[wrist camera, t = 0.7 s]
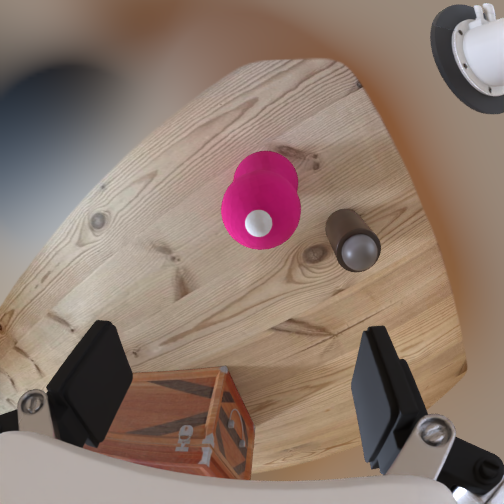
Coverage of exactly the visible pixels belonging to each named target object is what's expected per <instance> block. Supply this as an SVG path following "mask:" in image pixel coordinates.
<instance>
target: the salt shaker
mask: <svg viewBox="0 0 504 504" xmlns="http://www.w3.org/2000/svg"><path fill="white" fill-rule="evenodd" d="M325 230H326V235H327V237H328V239H329V242H330V244H331V246H332V249H333V251H334V253H335V256H336V258H337V260H338V262H339V264H340V265H341V266H342V267H343V268H344V269H346V270H348V271H351V272H362V271H365V270H367V269H369V268H370V267H372V266H373V265H374V264H375V263H376V261H377V260H378V258H379V255H380V251H381V245H380V241H379V239H378V237H377V236H376V234H375V233H374V232H373V231H372V230H371V229H370V227H369V226H368V225H367V224H366V223H365V222H364V220H363V219H362V218H361V217H360V216H359V215H358V214H357V213H356V212H355V211H353V210H350V209H341V210H338V211H336V212H334V213H333V214H332V215H331V216H330V217H329V218H328V220H327V222H326V227H325Z"/></svg>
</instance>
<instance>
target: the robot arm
mask: <svg viewBox="0 0 504 504" xmlns="http://www.w3.org/2000/svg"><path fill="white" fill-rule="evenodd" d="M483 9H484V13H485V15H486V19H487V20H485V19H484V16H483V11H482V7H481V6H478V5H475V6H474V10H475V14H476V17H477V18H476V19H475V20H473V19H468V20H465V21H462V22H460V23H459V24H458V25H457V26H456V27H455V29H454V31H453V34H452V49H453V54H454V57H455V60H456V62H457V65H458V67H459V69H460V71H461V72H462V74H463V75H464V77H465V78H466V80H467V81H468V82H469V83H470V84H471V85H472V86H473V87H474V88H475V89H476V90H478V91H479V92H481V93H483V94H485V95H488V96H500V95H503V94H504V18H501V19H498V20H496V18H495V16H496V15H495V12H494V7H493V5H491V4H488V3H487V4H486V3H485V4H483ZM132 380H133V373H132V370H131V368H130V365H129V363H128V360H127V357H126V355H125V352H124V349H123V347H122V344H121V341H120V338H119V335H118V332H117V329H116V327H115V326H114V325H113V324H112V323H111V322H110V321H103V320H97V321H95V323H94V324H93V325H92V326H91V328H90V329H89V330H88V331H87V333H86V334H85V335H84V337H83V338H82V339H81V340H80V342H79V343H78V344H77V346H76V347H75V348H74V350H73V351H72V352H71V354H70V355H69V356H68V358H67V359H66V360H65V362H64V363H63V364H62V366H61V367H60V368H59V370H58V371H57V373H56V374H55V375H54V377H53V378H52V380H51V381H50V382H49V384H48V385H47V387H46V388H47V390H48V392H47V393H45V392H44V391H42V390H38V389H34V390H30V391H28V392H26V393H25V394H23V395H22V396H21V398H20V399H19V401H18V406H17V409H16V410H14V411H11V412H8V413H5V414H2V415H0V504H504V465H503V462H502V460H501V459H500V458H499V457H498V456H496V455H495V454H493V453H490V452H488V451H486V450H484V449H481V448H479V447H477V446H475V445H472V444H470V443H468V442H466V441H464V440H462V439H459V438H457V437H455V435H456V431H455V426H454V425H453V423H452V422H451V421H450V420H449V419H448V418H446V417H445V416H443V415H439V414H429V415H428V413H427V410H426V408H425V405H424V403H423V400H422V398H421V395H420V393H419V390H418V388H417V385H416V383H415V380H414V378H413V376H412V373H411V371H410V368H409V366H408V364H407V362H406V360H404V359H399V358H398V355H397V353H396V351H395V348H394V346H393V344H392V341H391V339H390V337H389V335H388V332H387V330H386V328H385V326H371V327H368V330H367V331H363V333H362V338H361V343H360V348H359V352H358V357H357V361H356V365H355V370H354V374H353V378H352V382H351V389H352V395H353V399H354V404H355V409H356V414H357V419H358V424H359V430H360V435H361V441H362V446H363V452H364V458H365V461H366V462H370V465H371V469H376V468H380V473H381V474H383V475H382V476H367V477H356V478H345V479H332V480H316V481H315V480H313V481H254V480H237V479H225V478H215V477H207V476H199V475H192V474H185V473H179V472H173V471H168V470H163V469H158V468H153V467H148V466H144V465H139V464H135V463H131V462H127V461H123V460H120V459H116V458H112V457H109V456H106V455H102V454H99V453H96V452H93V451H90V450H87V449H83V446H84V444H86V445H88V446H91V447H94V448H98V445H99V443H101V442H103V441H104V439H105V437H106V435H107V432H108V430H109V428H110V426H111V424H112V422H113V420H114V418H115V416H116V413H117V411H118V409H119V407H120V405H121V403H122V401H123V399H124V397H125V395H126V393H127V391H128V389H129V387H130V385H131V383H132Z"/></svg>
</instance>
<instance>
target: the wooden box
mask: <svg viewBox="0 0 504 504" xmlns="http://www.w3.org/2000/svg"><path fill="white" fill-rule="evenodd" d="M254 437H255V426H254V424H253V422H252V420H251V418H250V415H249V413H248V411H247V409H246V407H245V405H244V403H243V401H242V399H241V397H240V395H239V393H238V390H237V388H236V386H235V384H234V382H233V380H232V377H231V375H230V373H229V371H228V369H227V367H226V366H221V367H211V368H201V369H190V370H177V371H162V372H142V373H133V380H132V383H131V385H130V387H129V389H128V391H127V393H126V395H125V397H124V399H123V401H122V403H121V405H120V407H119V409H118V411H117V413H116V416H115V418H114V420H113V422H112V424H111V426H110V428H109V430H108V432H107V435H106V437H105V439H104V441H103V442H101V443H99V445H98V448H94V447H91V446H88V445H86V444H84V446H83V449H87V450H90V451H93V452H96V453H99V454H102V455H106V456H109V457H112V458H116V459H120V460H123V461H127V462H131V463H135V464H139V465H144V466H148V467H153V468H158V469H163V470H168V471H173V472H179V473H185V474H192V475H199V476H207V477H215V478H225V479H237V480H250V479H251V469H252V458H253V448H254Z"/></svg>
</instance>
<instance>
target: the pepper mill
mask: <svg viewBox="0 0 504 504" xmlns="http://www.w3.org/2000/svg"><path fill="white" fill-rule="evenodd" d="M297 189H298V177H297V173H296V170H295V168H294V167H293V165H292V164H291V162H290V161H289V160H288V159H287V158H285V157H284V156H282V155H280V154H278V153H276V152H271V151H260V152H256V153H253V154H251V155H249V156H247V157H246V158H245V159H244V160H243V161H242V162H241V163H240V164H239V166H238V167H237V169H236V172H235V175H234V180H233V182H232V184H231V185H230V186H229V187H228V189H227V190H226V192H225V194H224V197H223V201H222V206H221V214H222V220H223V223H224V226H225V228H226V229H227V231H228V233H229V234H230V235H231V237H232V238H233V239H235V240H236V241H237V242H238V243H239V244H241V245H243V246H246V247H248V248H252V249H258V250H262V249H270V248H274V247H276V246H278V245H281V244H282V243H284V242H285V241H287V240H288V239H289V238H290V237H291V235H292V234H293V233H294V231H295V230H296V228H297V226H298V223H299V220H300V214H301V205H300V200H299V197H298V195H297Z"/></svg>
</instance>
